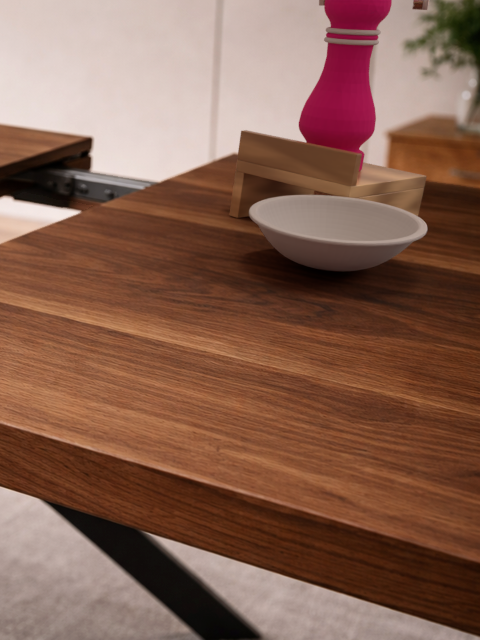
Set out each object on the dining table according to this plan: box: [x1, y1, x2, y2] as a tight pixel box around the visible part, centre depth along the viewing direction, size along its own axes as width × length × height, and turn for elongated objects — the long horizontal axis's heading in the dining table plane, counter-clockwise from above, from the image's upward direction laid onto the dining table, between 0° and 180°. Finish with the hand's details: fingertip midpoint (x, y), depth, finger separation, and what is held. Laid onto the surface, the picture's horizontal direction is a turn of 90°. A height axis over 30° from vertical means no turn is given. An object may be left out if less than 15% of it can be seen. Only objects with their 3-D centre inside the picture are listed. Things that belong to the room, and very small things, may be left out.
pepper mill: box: [298, 0, 393, 171], centre depth 94 cm, size 7×7×20 cm
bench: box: [229, 129, 428, 219], centre depth 98 cm, size 12×14×9 cm
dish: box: [248, 194, 428, 272], centre depth 83 cm, size 18×14×5 cm
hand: (372, 3), depth 101 cm, fingers open, 8 cm apart
